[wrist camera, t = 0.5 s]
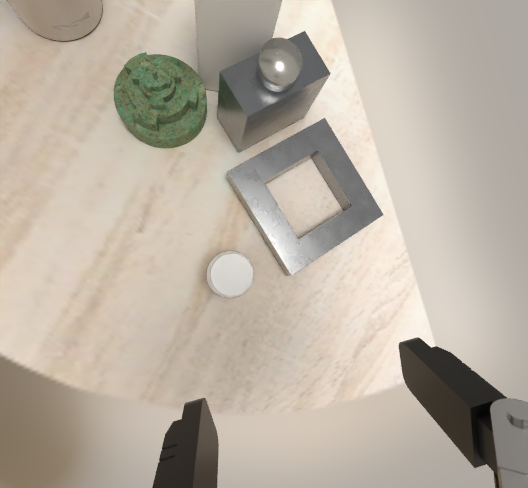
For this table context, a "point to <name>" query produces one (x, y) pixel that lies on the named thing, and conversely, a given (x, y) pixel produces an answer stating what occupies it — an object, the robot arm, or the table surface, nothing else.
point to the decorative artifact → (160, 100)
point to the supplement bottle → (230, 274)
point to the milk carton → (231, 33)
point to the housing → (288, 147)
